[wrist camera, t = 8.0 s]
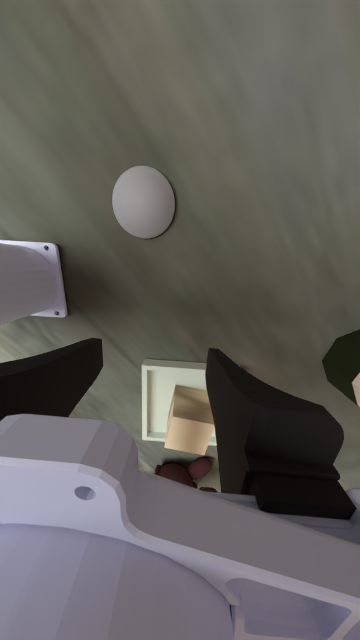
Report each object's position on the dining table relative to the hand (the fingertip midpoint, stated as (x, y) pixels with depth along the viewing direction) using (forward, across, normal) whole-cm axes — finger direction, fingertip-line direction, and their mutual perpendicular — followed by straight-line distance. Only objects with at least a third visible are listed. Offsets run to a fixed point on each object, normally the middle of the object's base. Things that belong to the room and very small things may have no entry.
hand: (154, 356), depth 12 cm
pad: (+9, +3, -11) cm, 15 cm away
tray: (+9, -4, +12) cm, 15 cm away
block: (+9, -4, +11) cm, 15 cm away
